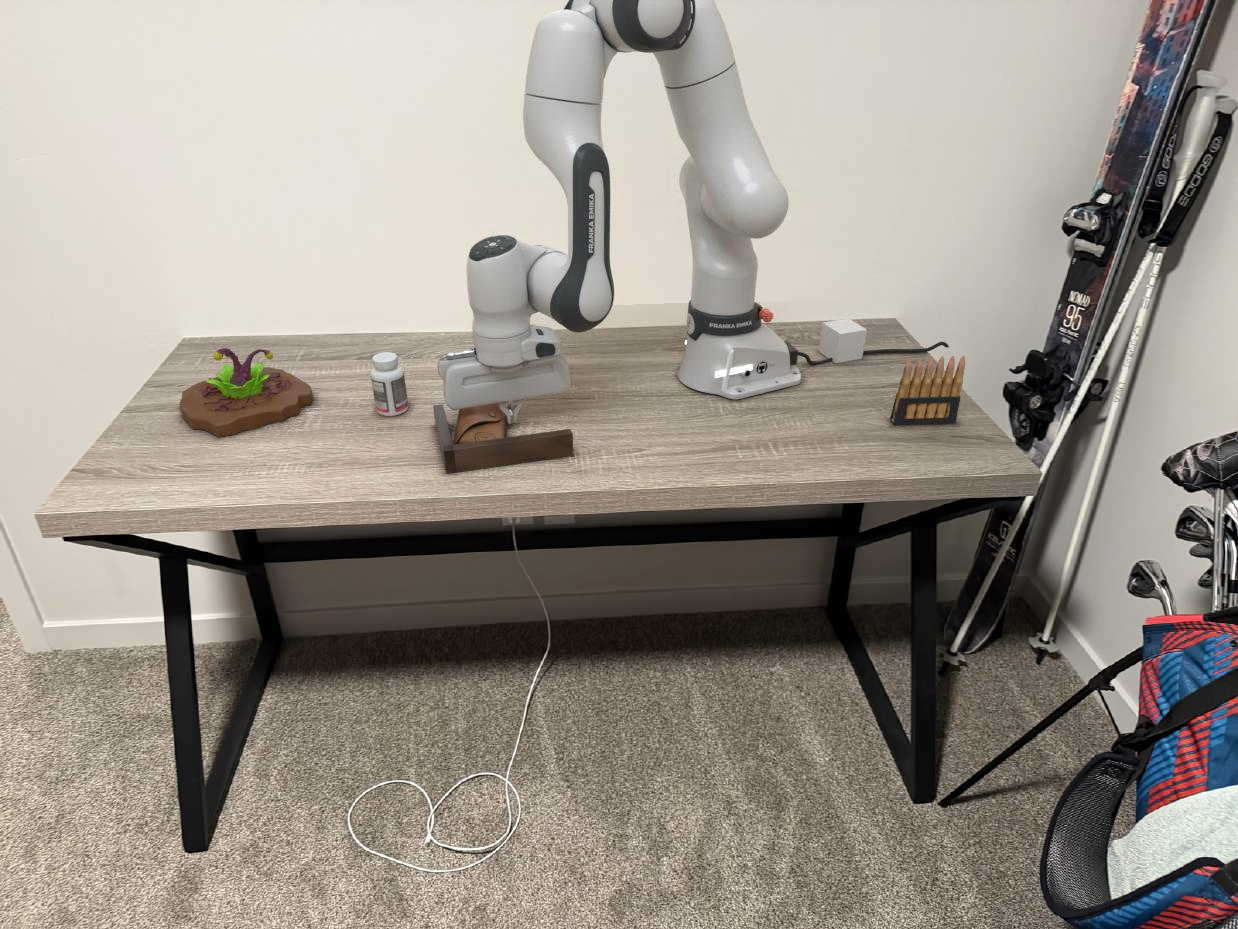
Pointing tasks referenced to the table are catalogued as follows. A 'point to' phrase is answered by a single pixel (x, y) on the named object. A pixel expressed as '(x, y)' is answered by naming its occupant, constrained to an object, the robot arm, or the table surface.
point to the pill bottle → (388, 385)
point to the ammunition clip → (928, 394)
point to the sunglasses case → (480, 424)
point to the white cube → (842, 340)
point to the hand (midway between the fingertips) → (511, 421)
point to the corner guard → (499, 448)
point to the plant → (243, 397)
